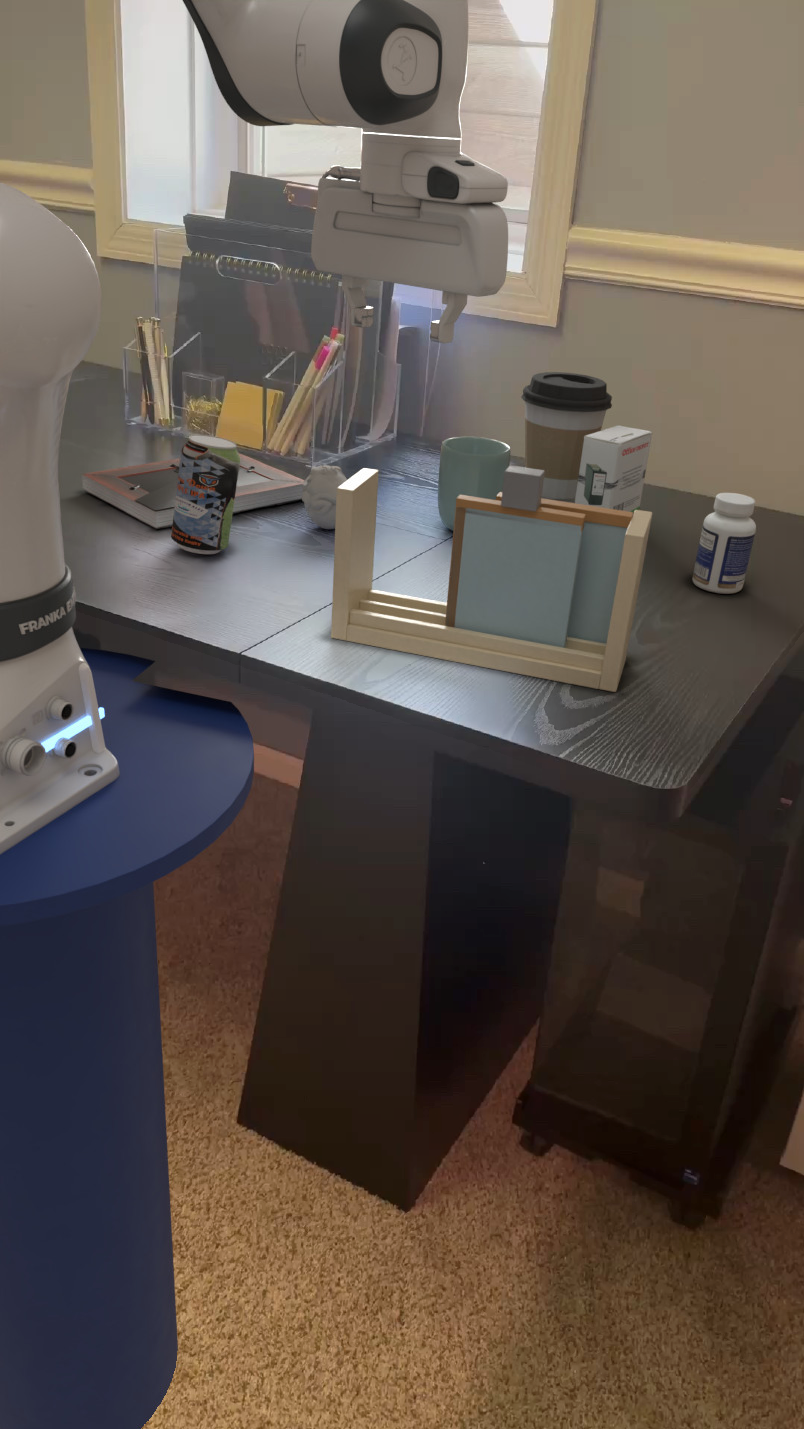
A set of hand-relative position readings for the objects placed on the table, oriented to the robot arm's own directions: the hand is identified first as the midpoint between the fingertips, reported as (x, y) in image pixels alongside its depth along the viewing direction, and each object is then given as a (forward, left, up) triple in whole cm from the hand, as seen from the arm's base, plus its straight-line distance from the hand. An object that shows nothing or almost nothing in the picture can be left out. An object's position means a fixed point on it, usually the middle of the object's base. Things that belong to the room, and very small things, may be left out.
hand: (400, 334), depth 104 cm
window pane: (-17, -16, -22) cm, 32 cm away
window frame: (-15, -14, -24) cm, 32 cm away
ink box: (+25, -20, -24) cm, 40 cm away
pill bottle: (+12, -34, -24) cm, 43 cm away
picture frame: (+13, +28, -24) cm, 39 cm away
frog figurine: (+10, +10, -24) cm, 28 cm away
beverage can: (-3, +19, -24) cm, 31 cm away
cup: (+17, -5, -24) cm, 30 cm away
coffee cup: (+35, -12, -24) cm, 44 cm away
